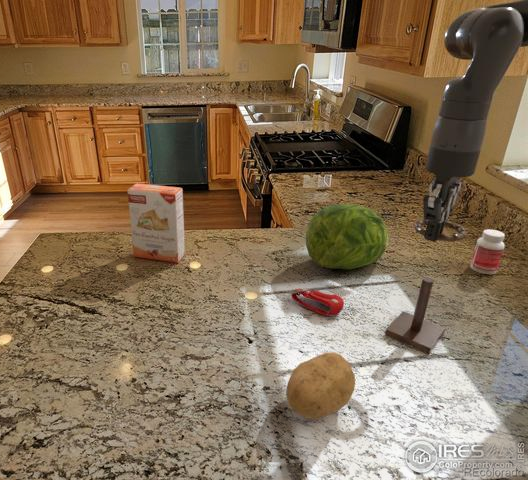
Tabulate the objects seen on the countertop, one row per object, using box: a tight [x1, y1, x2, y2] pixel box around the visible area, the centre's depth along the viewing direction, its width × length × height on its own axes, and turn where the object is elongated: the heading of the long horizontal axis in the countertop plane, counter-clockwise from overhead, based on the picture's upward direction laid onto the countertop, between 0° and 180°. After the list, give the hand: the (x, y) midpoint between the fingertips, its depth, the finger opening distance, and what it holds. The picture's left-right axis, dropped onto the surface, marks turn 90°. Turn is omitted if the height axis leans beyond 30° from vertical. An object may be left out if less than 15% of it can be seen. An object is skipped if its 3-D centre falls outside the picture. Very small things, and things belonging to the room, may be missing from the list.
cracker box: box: [127, 182, 186, 264], centre depth 119 cm, size 14×6×21 cm, turn 73°
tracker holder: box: [288, 288, 345, 316], centre depth 99 cm, size 12×4×10 cm
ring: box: [413, 219, 468, 242], centre depth 80 cm, size 9×9×1 cm
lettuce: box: [305, 203, 389, 270], centre depth 115 cm, size 18×23×19 cm
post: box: [384, 276, 446, 355], centre depth 87 cm, size 9×9×14 cm
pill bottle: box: [469, 228, 506, 275], centre depth 112 cm, size 6×6×11 cm
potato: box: [285, 351, 356, 420], centre depth 71 cm, size 10×14×8 cm
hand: (432, 238), depth 78 cm, fingers closed on ring, 1 cm apart
